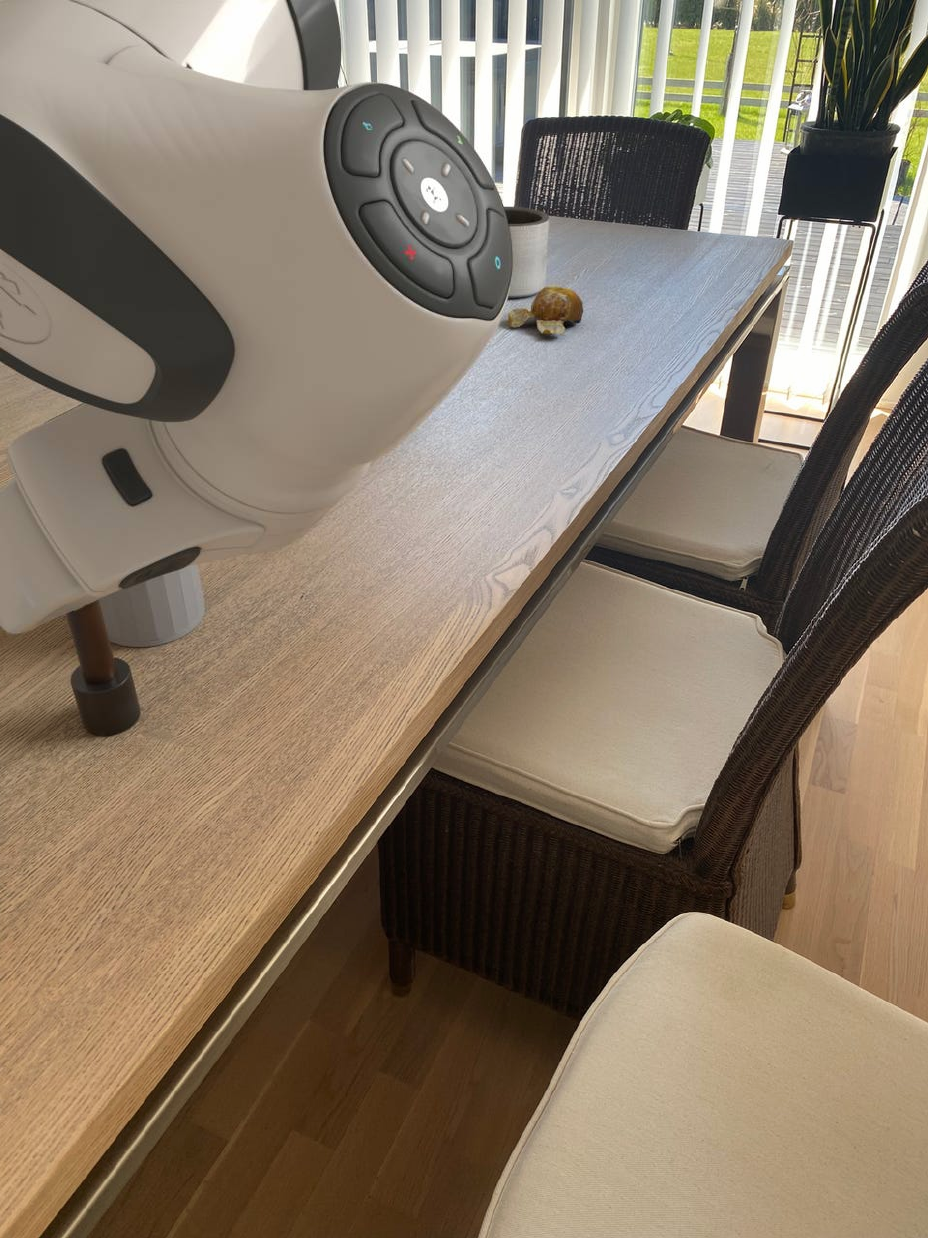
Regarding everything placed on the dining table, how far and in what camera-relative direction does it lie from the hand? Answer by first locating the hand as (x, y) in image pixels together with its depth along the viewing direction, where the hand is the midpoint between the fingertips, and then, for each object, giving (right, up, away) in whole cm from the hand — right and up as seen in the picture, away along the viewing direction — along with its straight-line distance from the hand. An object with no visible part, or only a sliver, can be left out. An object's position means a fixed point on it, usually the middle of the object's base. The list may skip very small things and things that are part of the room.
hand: (159, 556), depth 50 cm
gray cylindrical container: (-10, -3, +28) cm, 30 cm away
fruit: (+27, +36, +86) cm, 97 cm away
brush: (-9, -10, +18) cm, 23 cm away
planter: (+23, +50, +103) cm, 117 cm away
